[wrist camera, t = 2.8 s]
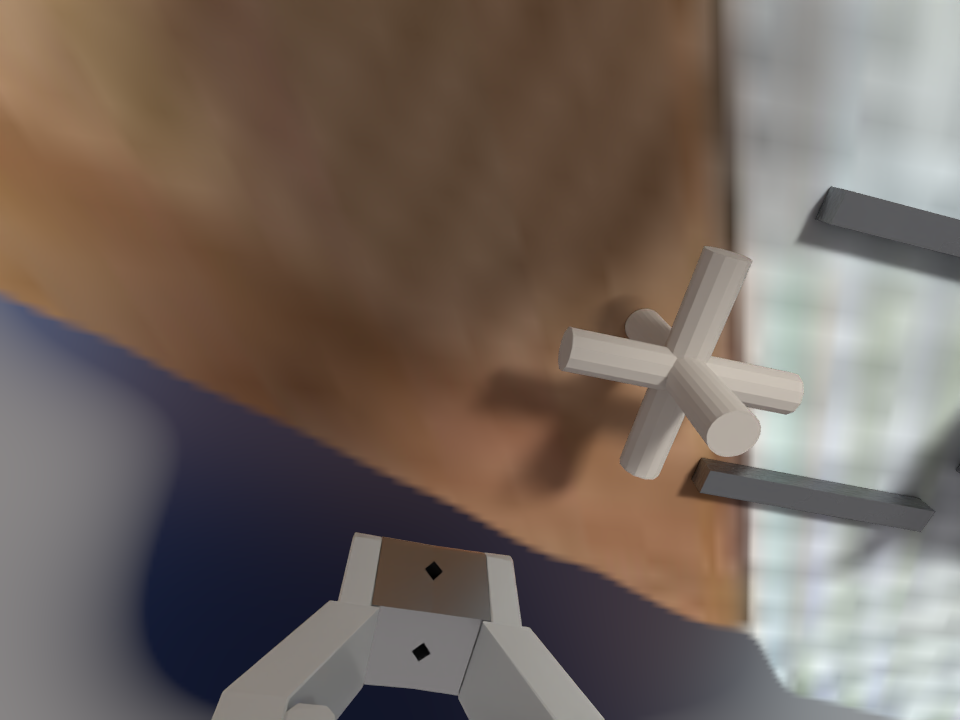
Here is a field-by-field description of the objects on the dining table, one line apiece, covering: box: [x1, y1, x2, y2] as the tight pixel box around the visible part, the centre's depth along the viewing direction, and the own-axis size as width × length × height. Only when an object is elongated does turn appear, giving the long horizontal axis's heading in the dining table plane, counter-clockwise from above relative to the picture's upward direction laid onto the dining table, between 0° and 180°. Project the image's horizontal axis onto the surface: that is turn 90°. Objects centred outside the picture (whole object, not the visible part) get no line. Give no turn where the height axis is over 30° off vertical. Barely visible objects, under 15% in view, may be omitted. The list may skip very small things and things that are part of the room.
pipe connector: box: [558, 246, 804, 479], centre depth 23 cm, size 10×10×10 cm
